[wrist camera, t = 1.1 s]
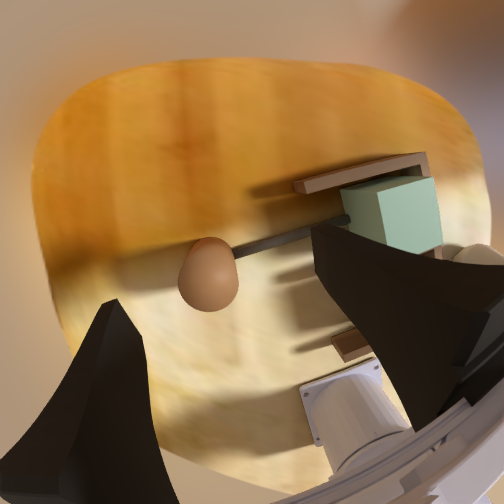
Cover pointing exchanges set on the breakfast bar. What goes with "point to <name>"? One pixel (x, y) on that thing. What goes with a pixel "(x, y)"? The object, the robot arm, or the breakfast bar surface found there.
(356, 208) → the tethered block
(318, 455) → the breakfast bar surface
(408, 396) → the robot arm
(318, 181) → the walnut rack
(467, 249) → the salt shaker
